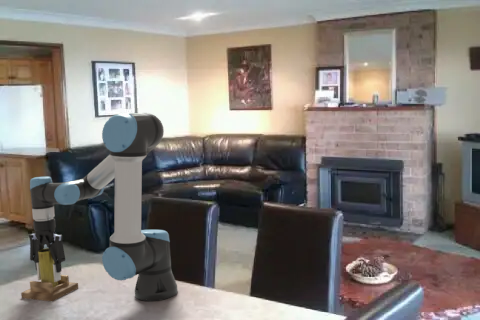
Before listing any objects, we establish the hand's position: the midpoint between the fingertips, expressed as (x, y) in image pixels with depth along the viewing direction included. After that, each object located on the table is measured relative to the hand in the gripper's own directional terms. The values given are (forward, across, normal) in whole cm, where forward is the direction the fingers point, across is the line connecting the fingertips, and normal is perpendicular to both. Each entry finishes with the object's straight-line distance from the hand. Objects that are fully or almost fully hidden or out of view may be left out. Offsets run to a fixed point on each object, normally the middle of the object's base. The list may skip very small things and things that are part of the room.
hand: (49, 279), depth 187 cm
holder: (+5, 0, 0) cm, 5 cm away
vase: (+3, 0, 0) cm, 3 cm away
